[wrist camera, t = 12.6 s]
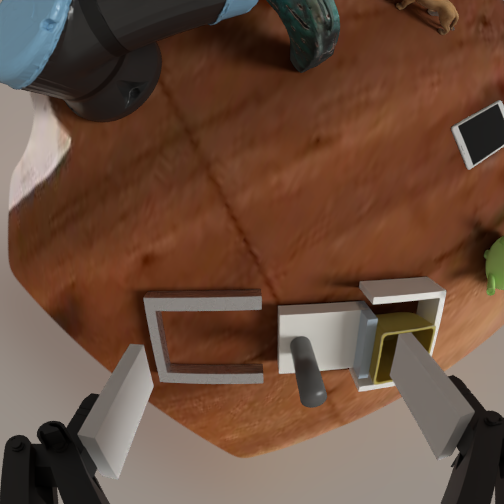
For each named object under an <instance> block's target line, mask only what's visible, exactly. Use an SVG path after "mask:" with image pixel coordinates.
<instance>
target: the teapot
mask: <svg viewBox="0 0 504 504" xmlns="http://www.w3.org/2000/svg"><path fill="white" fill-rule="evenodd" d="M484 258H485V259H486V276H487V279H488V282H487V294H488V295H490V296H491V295H494V293H495V288H497V289H500V290H504V236H502V237H501V238H499V239H498V240H497V241H496V242H495V243H494V244H493V245H492V246H491V248H490V250H486V251H485V253H484Z"/></svg>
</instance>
